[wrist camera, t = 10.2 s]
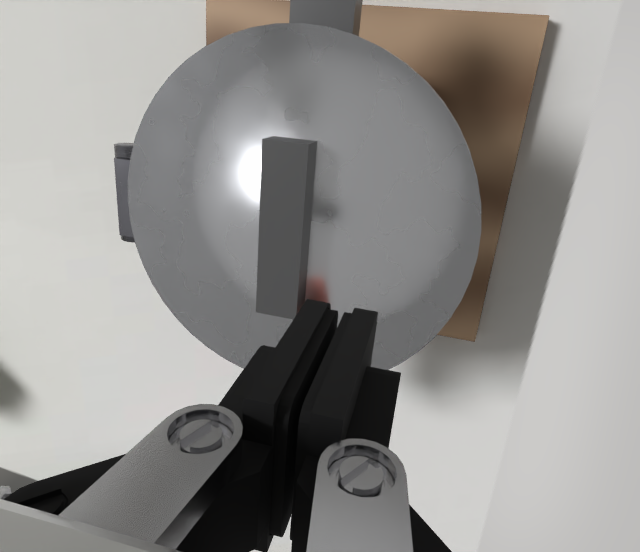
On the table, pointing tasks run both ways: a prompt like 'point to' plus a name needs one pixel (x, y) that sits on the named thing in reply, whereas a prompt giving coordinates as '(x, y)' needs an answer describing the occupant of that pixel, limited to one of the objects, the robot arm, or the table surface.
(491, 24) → the pressure cooker
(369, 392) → the robot arm
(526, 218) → the table surface
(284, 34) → the cooker lid
